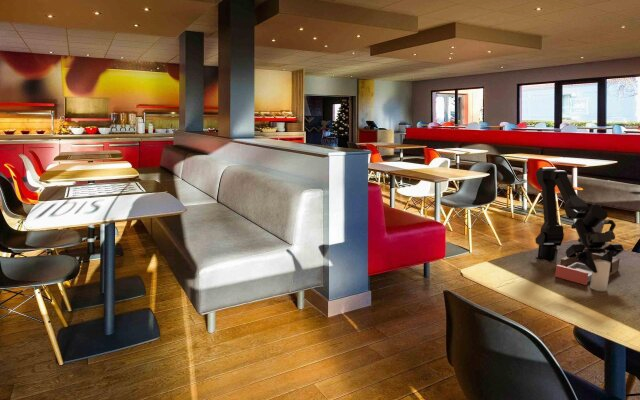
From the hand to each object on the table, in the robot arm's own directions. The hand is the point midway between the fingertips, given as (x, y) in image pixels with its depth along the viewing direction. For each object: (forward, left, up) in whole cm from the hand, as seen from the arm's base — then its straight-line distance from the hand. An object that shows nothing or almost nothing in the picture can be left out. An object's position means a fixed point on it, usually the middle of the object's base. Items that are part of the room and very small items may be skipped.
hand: (603, 272), depth 160 cm
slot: (-11, +18, -7) cm, 22 cm away
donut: (-14, +35, -7) cm, 38 cm away
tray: (-11, +8, -7) cm, 15 cm away
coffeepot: (-19, +44, -7) cm, 48 cm away
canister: (-1, +1, -7) cm, 7 cm away
